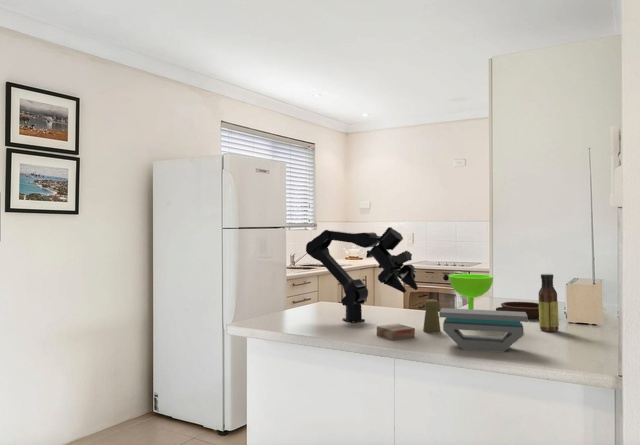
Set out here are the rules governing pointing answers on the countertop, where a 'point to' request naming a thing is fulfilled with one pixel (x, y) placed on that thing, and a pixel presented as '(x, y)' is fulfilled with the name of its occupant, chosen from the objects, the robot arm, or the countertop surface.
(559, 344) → the countertop surface
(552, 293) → the sauce bottle
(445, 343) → the countertop surface
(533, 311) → the dish
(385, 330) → the tan flat block
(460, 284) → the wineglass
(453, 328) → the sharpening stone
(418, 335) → the countertop surface
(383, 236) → the robot arm
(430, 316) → the olive tall rounded piece
